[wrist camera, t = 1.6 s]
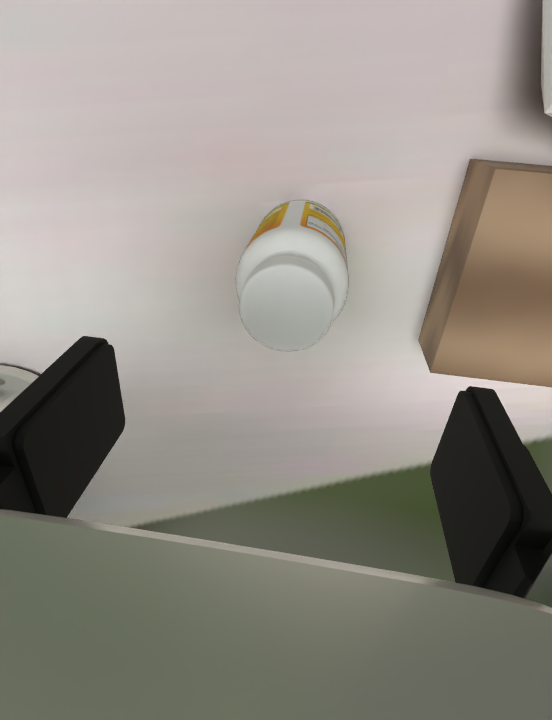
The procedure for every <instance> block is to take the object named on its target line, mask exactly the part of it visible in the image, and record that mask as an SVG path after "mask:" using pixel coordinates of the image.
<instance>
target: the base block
mask: <svg viewBox="0 0 552 720" xmlns="http://www.w3.org/2000/svg"><path fill="white" fill-rule="evenodd" d="M419 343H420V346H421V348H422V351H423V354H424V356H425V359H426V362H427V365H428V367H429V370H430V373H438V374H446V375H454V376H463V377H471V378H479V379H488V380H496V381H504V382H513V383H521V384H529V385H537V386H546V387H552V166H543V165H532V164H521V163H510V162H499V161H488V160H477V159H470V162H469V166H468V169H467V173H466V176H465V180H464V183H463V187H462V190H461V194H460V197H459V201H458V204H457V208H456V211H455V215H454V218H453V222H452V225H451V229H450V232H449V236H448V239H447V243H446V246H445V249H444V253H443V256H442V260H441V263H440V267H439V270H438V274H437V277H436V281H435V284H434V288H433V291H432V295H431V298H430V302H429V305H428V309H427V312H426V316H425V319H424V323H423V326H422V330H421V333H420V337H419Z"/></svg>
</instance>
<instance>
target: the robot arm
mask: <svg viewBox="0 0 552 720" xmlns="http://www.w3.org/2000/svg"><path fill="white" fill-rule="evenodd" d="M124 426H125V415H124V409H123V403H122V397H121V390H120V384H119V378H118V372H117V365H116V359H115V353H114V348H113V346H112V345H109V344H108V342H107V340H106V339H103V338H96V337H88V336H83V337H81V338H80V339H79V340H78V341H77V342H76V343H74V344H73V345H72V346H71V347H70V348H69V349H68V350H67V351H66V352H65V353H64V354H63V355H62V356H60V357H59V358H58V359H57V360H56V361H55V362H54V363H53V364H52V365H51V366H50V367H49V368H47V369H46V370H45V371H44V372H43V373H42V374H41V375H40V376H38V375H36V374H34V373H31V372H29V371H25V370H22V369H19V368H16V367H10V366H4V365H0V720H552V494H551V492H550V490H549V488H548V486H547V485H546V483H545V481H544V479H543V477H542V475H541V473H540V471H539V470H538V467H537V466H536V464H535V462H534V460H533V458H532V456H531V454H530V452H529V451H528V449H527V448H526V447H525V446H524V445H523V444H522V442H521V440H520V438H519V436H518V434H517V432H516V430H515V428H514V426H513V424H512V423H511V421H510V419H509V417H508V415H507V413H506V411H505V409H504V407H503V405H502V403H501V402H500V400H499V398H498V396H497V394H496V392H495V391H494V390H493V389H487V388H479V387H472V386H470V387H468V388H467V389H466V391H460V392H459V393H458V395H457V398H456V401H455V403H454V406H453V408H452V411H451V414H450V416H449V419H448V422H447V424H446V427H445V429H444V432H443V435H442V437H441V440H440V443H439V445H438V448H437V451H436V453H435V456H434V458H433V461H432V464H431V471H430V475H431V480H432V485H433V489H434V493H435V497H436V501H437V506H438V510H439V514H440V518H441V522H442V527H443V531H444V535H445V540H446V544H447V548H448V552H449V557H450V560H451V565H452V569H453V574H454V577H455V582H456V583H454V582H449V581H444V580H438V579H433V578H427V577H422V576H417V575H411V574H406V573H400V572H394V571H388V570H382V569H376V568H371V567H365V566H359V565H353V564H347V563H341V562H335V561H329V560H323V559H317V558H312V557H306V556H299V555H293V554H288V553H282V552H276V551H269V550H263V549H257V548H251V547H244V546H238V545H233V544H226V543H221V542H214V541H208V540H202V539H196V538H190V537H184V536H177V535H171V534H165V533H159V532H152V531H146V530H140V529H133V528H127V527H121V526H114V525H108V524H102V523H95V522H89V521H83V520H76V519H70V518H67V516H68V515H69V513H70V511H71V510H72V508H73V507H74V505H75V504H76V502H77V501H78V499H79V498H80V496H81V495H82V493H83V492H84V490H85V489H86V487H87V485H88V484H89V482H90V481H91V479H92V478H93V476H94V475H95V473H96V472H97V470H98V469H99V467H100V466H101V464H102V462H103V461H104V459H105V458H106V456H107V455H108V453H109V452H110V450H111V449H112V447H113V446H114V444H115V443H116V441H117V439H118V438H119V436H120V435H121V433H122V432H123V429H124Z"/></svg>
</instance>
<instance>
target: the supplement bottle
mask: <svg viewBox="0 0 552 720" xmlns="http://www.w3.org/2000/svg"><path fill="white" fill-rule="evenodd" d="M348 284H349V277H348V268H347V258H346V248H345V239H344V235H343V231H342V229H341V226H340V224H339V222H338V221H337V219H336V218H335V216H334V215H333V214H332V213H331V212H330V211H329V210H328V209H326V208H325V207H323V206H321V205H319V204H317V203H315V202H311V201H306V200H295V201H290V202H286V203H284V204H281V205H279V206H278V207H276V208H275V209H273V210H272V211H271V212H270V213H269V214H268V215H267V216H266V217H265V218H264V220H263V221H262V222H261V224H260V226H259V228H258V229H257V231H256V233H255V235H254V236H253V238H252V240H251V241H250V243H249V245H248V246H247V248H246V250H245V251H244V253H243V255H242V257H241V260H240V262H239V265H238V268H237V274H236V289H237V294H238V298H239V311H240V316H241V320H242V322H243V324H244V326H245V328H246V330H247V331H248V332H249V334H250V335H251V336H252V337H253V338H254V339H255V340H257V341H258V342H259V343H261V344H263V345H264V346H266V347H269V348H272V349H275V350H279V351H297V350H301V349H304V348H307V347H309V346H311V345H313V344H315V343H316V342H317V341H319V340H320V339H321V338H322V337H323V336H324V335H325V333H326V332H327V330H328V329H329V327H330V325H331V322H332V321H333V320H334V319H335V318H336V317H337V316H338V314H339V313H340V311H341V310H342V308H343V306H344V304H345V301H346V298H347V293H348Z"/></svg>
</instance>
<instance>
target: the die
mask: <svg viewBox="0 0 552 720" xmlns="http://www.w3.org/2000/svg"><path fill="white" fill-rule="evenodd" d="M541 88H542V96H543V105H544V113H545V114H547V115H548V116H550V117H552V0H542V56H541Z"/></svg>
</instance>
